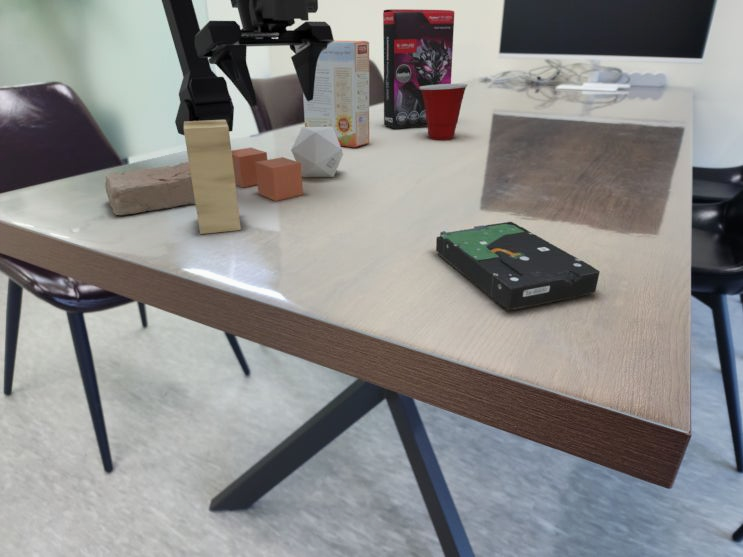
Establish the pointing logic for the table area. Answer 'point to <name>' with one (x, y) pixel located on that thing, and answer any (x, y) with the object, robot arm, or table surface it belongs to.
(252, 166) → the cube far
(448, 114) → the plastic cup
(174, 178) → the brick
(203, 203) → the maple block
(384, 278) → the table surface
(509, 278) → the disk drive
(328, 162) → the die
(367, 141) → the cracker box
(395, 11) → the graphics card box
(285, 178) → the cube mid
